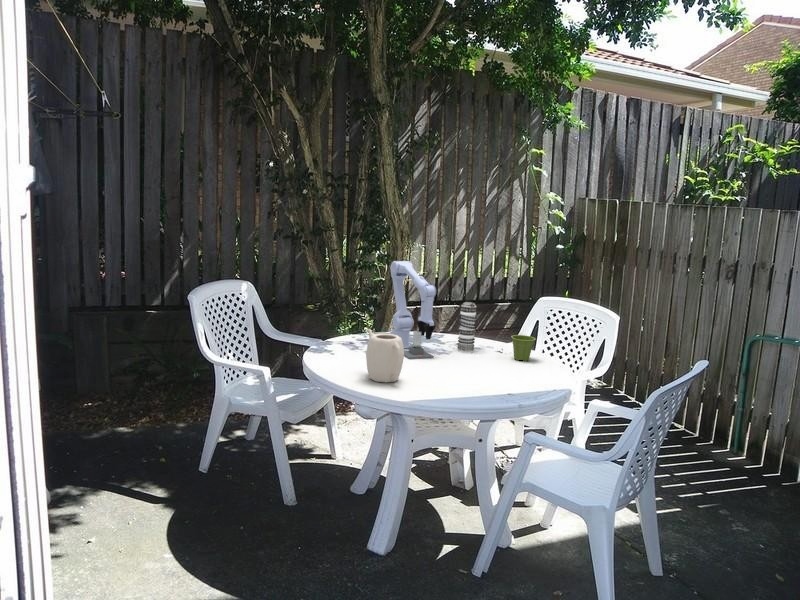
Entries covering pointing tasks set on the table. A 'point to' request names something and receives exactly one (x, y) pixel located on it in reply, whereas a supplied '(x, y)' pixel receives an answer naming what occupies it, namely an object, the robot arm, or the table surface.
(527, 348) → the plant pot
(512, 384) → the table surface
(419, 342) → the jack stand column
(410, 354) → the grey socket base
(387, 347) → the cream ceramic pot
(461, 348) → the decorative candle
